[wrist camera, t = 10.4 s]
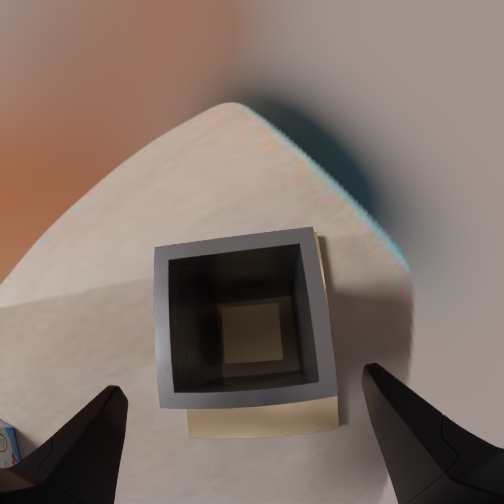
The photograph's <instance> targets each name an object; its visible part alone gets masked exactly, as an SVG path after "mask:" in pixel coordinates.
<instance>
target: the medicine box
mask: <svg viewBox="0 0 504 504" xmlns="http://www.w3.org/2000/svg"><path fill="white" fill-rule="evenodd" d="M20 461H21V458H20V455H19V451H18V447H17V442H16V438H15V433H14V428H13V427H12V426H10V425H9V424H7V423H5V422H3V421H1V420H0V468H8V467H11V466H14V465H15V464H17V463H18V462H20Z"/></svg>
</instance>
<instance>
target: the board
mask: <svg viewBox="0 0 504 504" xmlns="http://www.w3.org/2000/svg"><path fill="white" fill-rule="evenodd" d="M314 235H315V240H316V245H317V251H318V256H319V261H320V267H321V272H322V278H323V284H324V290H325V296H326V302H327V308H328V300H327V293H326V286H325V279H324V272H323V266H322V259H321V253H320V247H319V241H318V235H317V232H314ZM217 314H218V327H219V340H220V352H221V363H222V374H223V377H232V376H246V375H258V374H268V373H277V372H285V371H293V370H300V369H299V360H298V351H297V343H296V334H295V326H294V318H293V311H292V303H291V296H284V297H276V298H268V299H260V300H251V301H242V302H232V303H223V304H217ZM328 315H329V308H328ZM329 322H330V316H329ZM330 329H331V324H330ZM331 336H332V333H331ZM332 343H333V342H332ZM187 418H188V428H189V437H202V438H256V437H273V436H286V435H296V434H304V433H312V432H319V431H326V430H332V429H337V428H339V421H338V403H337V396H334V397H328V398H323V399H317V400H310V401H304V402H297V403H289V404H280V405H271V406H260V407H247V408H228V409H187Z"/></svg>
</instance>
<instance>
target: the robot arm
mask: <svg viewBox="0 0 504 504" xmlns="http://www.w3.org/2000/svg"><path fill="white" fill-rule="evenodd" d="M362 387H363V391H364V395H365V399H366V403H367V408H368V412H369V416H370V420H371V423H372V426H373V429H374V432H375V435H376V437H377V440H378V443H379V446H380V449H381V452H382V454H383V457H384V460H385V463H386V466H387V469H388V472H389V475H390V478H391V481H392V484H393V488H394V491H395V494H396V497H397V501H398V504H504V449H503V448H499V447H496V446H494V445H492V444H490V443H488V442H486V441H484V440H482V439H481V438H479V437H477V436H475V435H473V434H472V433H470V432H468V431H467V430H465V429H463V428H462V427H460V426H459V425H457V424H456V423H454V422H453V421H452V420H450V419H449V418H448V417H446V416H445V415H443V414H442V413H441V412H440V411H438V410H437V409H436V408H434V407H433V406H432V405H430V404H429V403H428V402H427V401H425V400H424V399H423V398H421V397H420V396H419V395H417V394H416V393H415V392H414V391H412V390H411V389H410V388H408V387H407V386H406V385H405V384H403V383H402V382H401V381H399V380H398V379H397V378H395V377H394V376H393V375H392V374H390V373H389V372H388V371H386V370H385V369H384V368H383V367H381V366H380V365H379V364H377V363H370V364H366V365H365V366H364V370H363V376H362ZM127 411H128V400H127V397H126V396H125V394H124V393H123V391H122V390H121V388H120V387H119V386H116V385H109V386H107V387H106V388H105V389H104V390H103V391H102V392H101V393H99V394H98V395H97V396H96V397H95V398H94V399H93V400H92V401H91V402H89V403H88V404H87V405H86V406H85V407H84V408H83V409H82V410H81V411H79V412H78V413H77V414H76V415H75V416H74V417H73V418H72V419H71V420H69V421H68V422H67V423H66V424H65V425H64V426H63V427H62V428H60V429H59V430H58V431H57V432H56V433H55V434H54V435H53V436H51V437H50V438H49V439H48V440H47V441H46V442H45V443H44V444H42V445H41V446H40V447H39V448H37V449H36V450H35V451H33V452H32V453H31V454H29V455H28V456H27V457H25V458H24V459H22V460H21V461H20V462H18V463H17V464H15V465H14V466H11V467H8V468H0V504H114V499H115V492H116V485H117V478H118V472H119V466H120V460H121V455H122V449H123V444H124V439H125V431H126V420H127Z"/></svg>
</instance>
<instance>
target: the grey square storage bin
mask: <svg viewBox="0 0 504 504" xmlns="http://www.w3.org/2000/svg"><path fill="white" fill-rule="evenodd" d="M284 296H291V303H292V311H293V318H294V326H295V334H296V343H297V351H298V360H299V369H300V370H293V371H285V372H277V373H268V374H258V375H246V376H232V377H223V374H222V363H221V352H220V340H219V327H218V314H217V304H223V303H232V302H242V301H251V300H260V299H268V298H276V297H284ZM154 328H155V351H156V367H157V380H158V391H159V401H160V408H172V409H228V408H247V407H260V406H271V405H280V404H289V403H297V402H304V401H310V400H317V399H323V398H328V397H334V396H338V386H337V376H336V367H335V359H334V351H333V343H332V336H331V329H330V322H329V315H328V308H327V302H326V296H325V290H324V284H323V278H322V272H321V267H320V261H319V256H318V251H317V245H316V240H315V235H314V230H313V227H306V228H298V229H289V230H281V231H273V232H265V233H257V234H249V235H241V236H234V237H226V238H218V239H211V240H203V241H196V242H189V243H182V244H174V245H167V246H160V247H155V255H154Z"/></svg>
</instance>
